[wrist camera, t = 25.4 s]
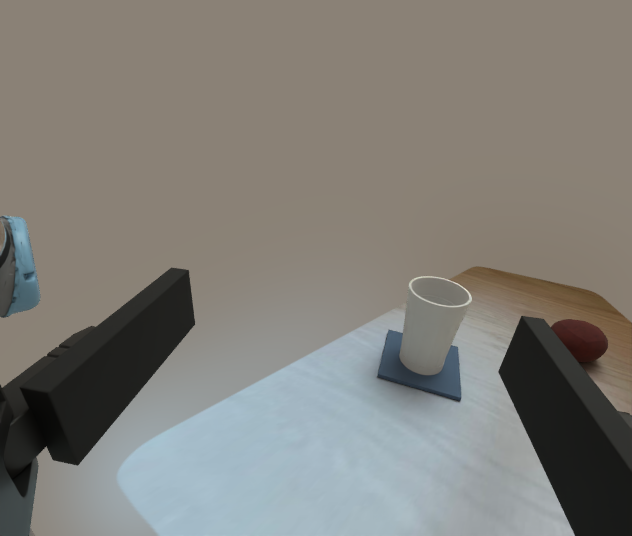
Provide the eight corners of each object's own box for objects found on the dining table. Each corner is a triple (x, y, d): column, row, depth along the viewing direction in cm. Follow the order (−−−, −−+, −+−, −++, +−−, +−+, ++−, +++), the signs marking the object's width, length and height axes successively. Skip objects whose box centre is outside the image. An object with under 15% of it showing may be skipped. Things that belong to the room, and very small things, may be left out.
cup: (460, 376, 47) (485, 305, 41) (408, 382, 45) (427, 308, 39) (431, 340, 53) (449, 275, 48) (385, 344, 52) (399, 277, 46)
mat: (377, 377, 46) (378, 373, 46) (388, 332, 56) (388, 329, 55) (460, 401, 43) (461, 398, 43) (456, 349, 53) (457, 346, 52)
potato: (530, 337, 57) (543, 308, 54) (578, 341, 57) (593, 312, 54) (557, 368, 50) (574, 337, 48) (611, 372, 50) (630, 341, 48)
